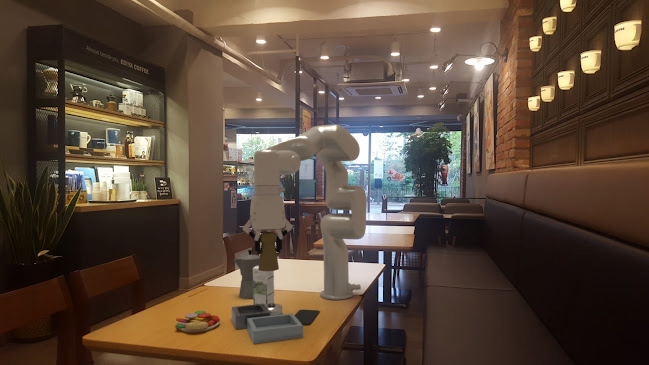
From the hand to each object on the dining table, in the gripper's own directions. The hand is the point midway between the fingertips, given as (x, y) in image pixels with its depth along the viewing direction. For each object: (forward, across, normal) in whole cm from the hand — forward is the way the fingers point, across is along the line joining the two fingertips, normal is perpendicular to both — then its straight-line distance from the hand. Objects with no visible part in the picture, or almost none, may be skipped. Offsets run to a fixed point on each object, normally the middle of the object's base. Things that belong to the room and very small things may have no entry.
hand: (268, 252), depth 130 cm
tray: (+23, -1, +2) cm, 24 cm away
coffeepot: (+24, -1, -43) cm, 49 cm away
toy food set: (+24, +20, -12) cm, 34 cm away
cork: (+5, 0, 0) cm, 5 cm away
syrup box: (+24, -2, -26) cm, 35 cm away
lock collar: (+23, +1, -13) cm, 27 cm away
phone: (+24, -13, -9) cm, 29 cm away
